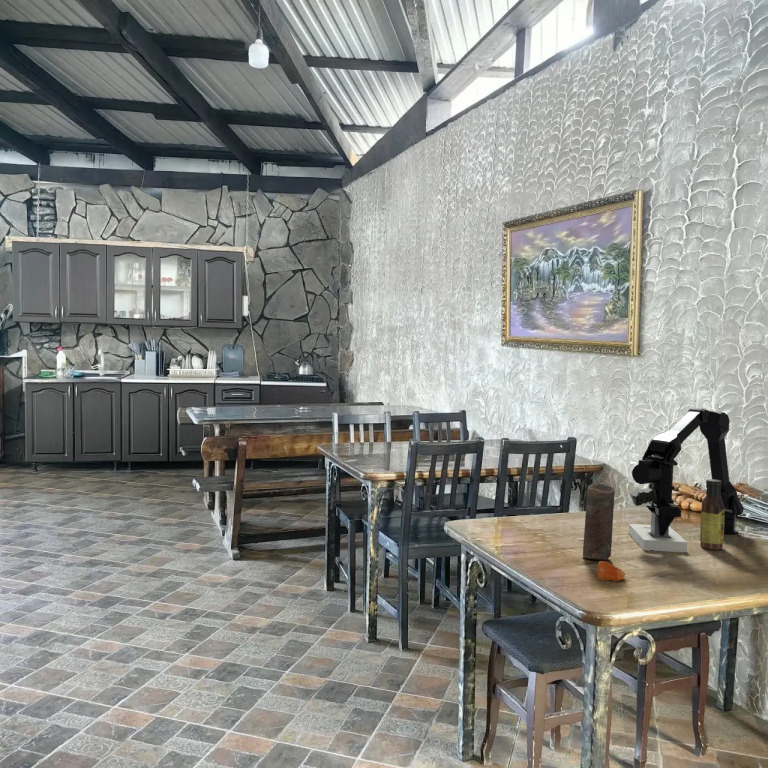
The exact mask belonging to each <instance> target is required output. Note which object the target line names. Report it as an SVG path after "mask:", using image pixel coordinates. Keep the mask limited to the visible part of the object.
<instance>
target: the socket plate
mask: <svg viewBox="0 0 768 768" xmlns="http://www.w3.org/2000/svg"><path fill="white" fill-rule="evenodd" d="M650 532H651V524H639V523H637V524H636V523H629V524H628V533H627V534H628V535H629V534H630V535H631V536H632V537H633V538H632V537H631V536H630V535H629V536H630V537H631V538H632V539H633V540H634V542H636V544H637V543H638V544H639V545H638V544H637V545H638V546H639V547H640V548H641V550H643V551H650V550H654V552H671V553H687V552H688V541H687V540H685V539H684V538H683V537H682V536H681V535H680V534H679V533H677V532H676V531H675V530H674V529H673V528H672V527H671V526H669V535H668V538H655V537H651V536H650Z"/></svg>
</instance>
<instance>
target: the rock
mask: <svg viewBox="0 0 768 768" xmlns="http://www.w3.org/2000/svg"><path fill="white" fill-rule="evenodd" d="M625 576H626V573H625V571H624V570H622V569H621V568H619V567H616V566H614V565H612V564H611V563H610V562H608V561H605V560H603V561H600V560H599V561H598V565H597V579H598V580H601V581H613V582H617V581H622V580H623V579H624V577H625Z"/></svg>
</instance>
